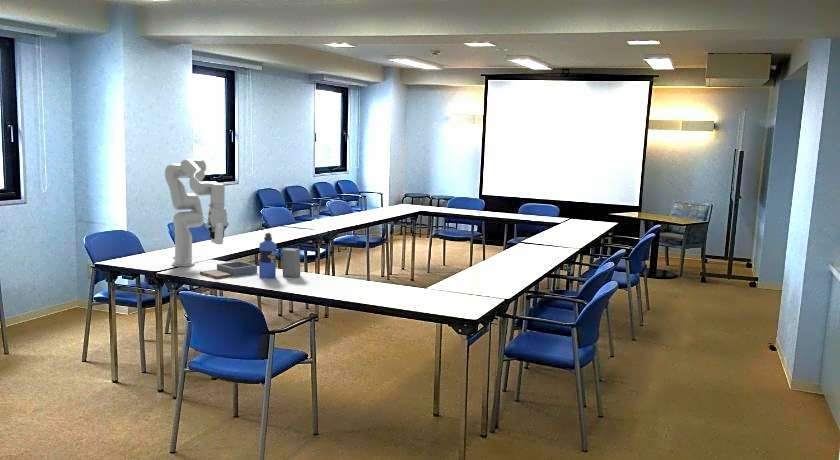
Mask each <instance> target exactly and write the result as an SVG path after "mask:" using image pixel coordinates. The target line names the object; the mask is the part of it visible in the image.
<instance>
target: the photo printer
mask: <svg viewBox="0 0 840 460" xmlns="http://www.w3.org/2000/svg"><path fill="white" fill-rule="evenodd" d="M214 232H215V239H211V238H210V242H211V243H213V244H215V245H223V243H224V238H223V225H222V223H221V222H220V223H217V224H216V227H215V229H214Z"/></svg>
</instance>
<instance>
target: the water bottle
mask: <svg viewBox="0 0 840 460" xmlns="http://www.w3.org/2000/svg"><path fill="white" fill-rule="evenodd" d="M263 238H264V241H262V242H259V255H260V257H259V267H258V268H259V269H258V271H259V272H258V276H259V279H263V278H272V279H275V278H276V274H277V273H276V271H277V269H276V268H277V267H276V266H277V261H276V254H277V243H276V242H274V241H273V237H272V234H271V233H270V232H266V233H265V234H264V237H263ZM274 277H275V278H274Z"/></svg>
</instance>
